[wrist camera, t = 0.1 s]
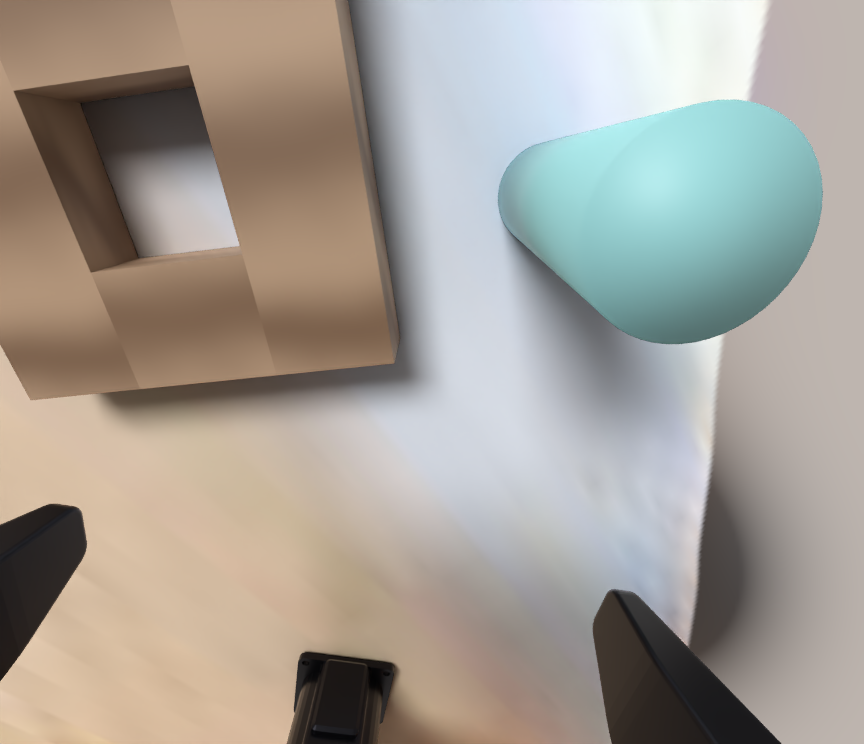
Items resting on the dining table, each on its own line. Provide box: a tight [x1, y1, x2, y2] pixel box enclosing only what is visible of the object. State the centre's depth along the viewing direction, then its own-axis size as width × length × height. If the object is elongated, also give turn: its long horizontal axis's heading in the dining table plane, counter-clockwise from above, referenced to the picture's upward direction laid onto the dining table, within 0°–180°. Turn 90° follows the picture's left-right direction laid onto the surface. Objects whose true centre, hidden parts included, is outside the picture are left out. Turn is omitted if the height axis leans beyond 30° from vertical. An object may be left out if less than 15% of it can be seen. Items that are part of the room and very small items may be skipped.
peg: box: [498, 100, 823, 344], centre depth 13 cm, size 4×4×12 cm
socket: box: [0, 0, 400, 400], centre depth 17 cm, size 16×16×3 cm
